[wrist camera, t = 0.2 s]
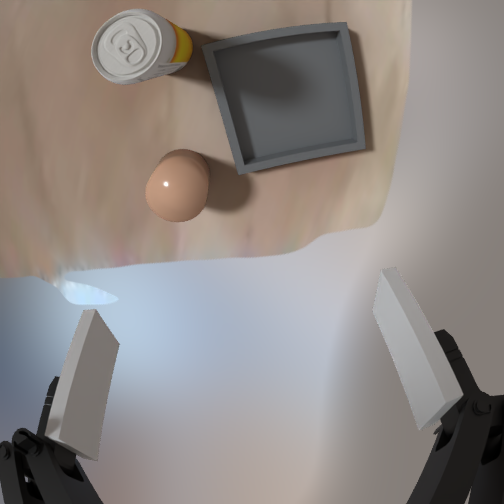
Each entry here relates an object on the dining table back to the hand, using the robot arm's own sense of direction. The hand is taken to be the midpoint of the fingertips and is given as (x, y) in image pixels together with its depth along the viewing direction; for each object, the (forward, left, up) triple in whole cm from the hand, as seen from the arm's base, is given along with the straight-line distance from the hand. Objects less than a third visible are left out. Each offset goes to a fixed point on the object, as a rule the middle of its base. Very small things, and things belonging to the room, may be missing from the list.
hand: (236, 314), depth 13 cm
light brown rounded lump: (+3, -7, -27) cm, 28 cm away
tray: (-4, +8, -27) cm, 29 cm away
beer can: (-13, -4, -27) cm, 31 cm away
